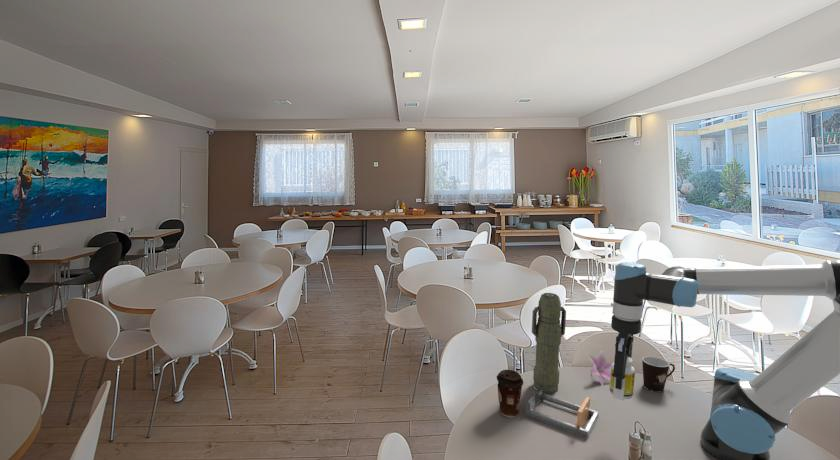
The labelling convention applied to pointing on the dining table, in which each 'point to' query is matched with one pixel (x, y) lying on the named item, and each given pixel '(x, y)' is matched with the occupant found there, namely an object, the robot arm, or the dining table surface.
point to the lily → (600, 367)
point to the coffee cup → (509, 392)
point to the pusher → (582, 412)
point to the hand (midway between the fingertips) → (620, 392)
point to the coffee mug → (655, 372)
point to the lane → (557, 422)
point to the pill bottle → (628, 379)
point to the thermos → (548, 341)
